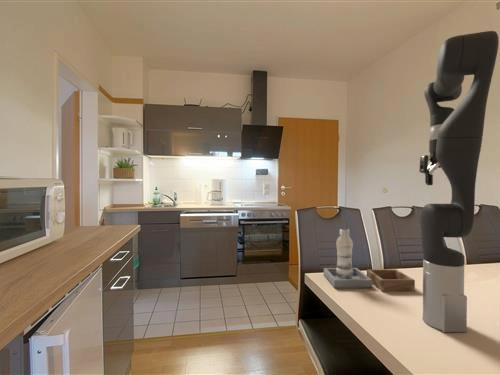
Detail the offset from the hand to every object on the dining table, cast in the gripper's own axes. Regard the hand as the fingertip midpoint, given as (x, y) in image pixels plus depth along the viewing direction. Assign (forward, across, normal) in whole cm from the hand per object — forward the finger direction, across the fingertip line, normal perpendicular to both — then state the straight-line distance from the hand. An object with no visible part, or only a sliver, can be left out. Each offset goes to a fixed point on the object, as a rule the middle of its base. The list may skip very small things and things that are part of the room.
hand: (441, 185), depth 93 cm
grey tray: (+38, -29, +12) cm, 49 cm away
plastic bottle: (+38, -30, +12) cm, 50 cm away
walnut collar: (+38, -14, +8) cm, 41 cm away
